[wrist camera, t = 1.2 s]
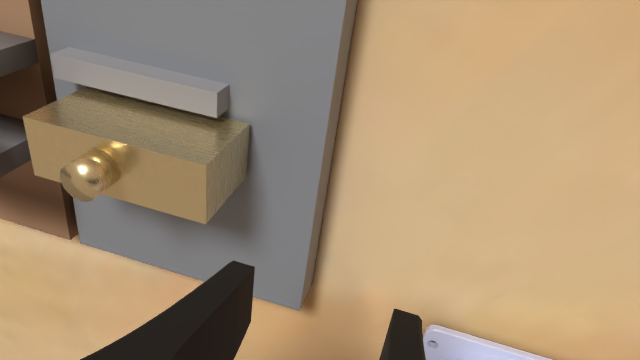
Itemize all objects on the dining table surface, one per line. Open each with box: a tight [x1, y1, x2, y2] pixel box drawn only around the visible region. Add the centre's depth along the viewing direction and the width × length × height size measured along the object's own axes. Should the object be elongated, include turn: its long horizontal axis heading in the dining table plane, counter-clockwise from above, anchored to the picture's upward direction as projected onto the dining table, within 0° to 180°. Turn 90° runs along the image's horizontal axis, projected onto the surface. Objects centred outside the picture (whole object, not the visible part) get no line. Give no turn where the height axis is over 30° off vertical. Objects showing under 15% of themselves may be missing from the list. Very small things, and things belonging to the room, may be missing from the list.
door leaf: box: [41, 0, 357, 311], centre depth 21 cm, size 16×12×3 cm
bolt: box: [23, 86, 250, 224], centre depth 18 cm, size 2×7×5 cm, turn 82°
